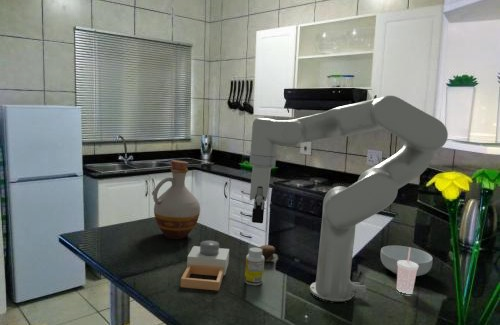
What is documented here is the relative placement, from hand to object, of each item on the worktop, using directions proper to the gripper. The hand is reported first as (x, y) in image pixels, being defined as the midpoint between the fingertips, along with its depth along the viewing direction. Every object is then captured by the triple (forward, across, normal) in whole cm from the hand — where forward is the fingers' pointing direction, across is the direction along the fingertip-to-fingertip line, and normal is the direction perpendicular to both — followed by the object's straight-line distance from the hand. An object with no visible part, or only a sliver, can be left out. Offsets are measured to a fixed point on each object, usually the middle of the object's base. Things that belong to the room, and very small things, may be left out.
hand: (257, 218), depth 120 cm
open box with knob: (+20, -2, -15) cm, 25 cm away
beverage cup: (+20, -3, +46) cm, 50 cm away
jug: (+20, -36, -33) cm, 53 cm away
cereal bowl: (+20, -19, +51) cm, 58 cm away
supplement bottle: (+20, 0, 0) cm, 20 cm away
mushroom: (+20, -18, +3) cm, 27 cm away
